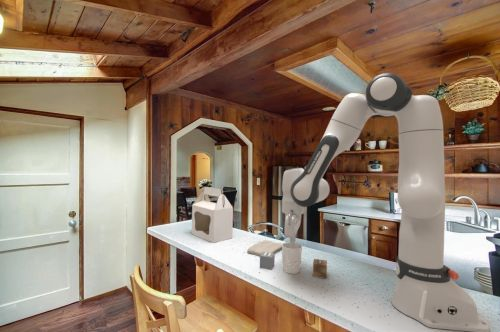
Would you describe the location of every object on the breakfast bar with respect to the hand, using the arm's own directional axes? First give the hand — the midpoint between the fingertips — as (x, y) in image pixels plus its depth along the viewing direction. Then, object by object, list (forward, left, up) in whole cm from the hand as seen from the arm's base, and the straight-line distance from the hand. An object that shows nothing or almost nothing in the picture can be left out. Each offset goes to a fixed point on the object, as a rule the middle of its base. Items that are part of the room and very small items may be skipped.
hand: (292, 242), depth 98 cm
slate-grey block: (+10, 0, -11) cm, 15 cm away
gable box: (+50, -29, -11) cm, 59 cm away
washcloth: (+15, -18, -12) cm, 26 cm away
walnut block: (-11, 0, -11) cm, 15 cm away
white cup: (0, 0, -11) cm, 11 cm away
